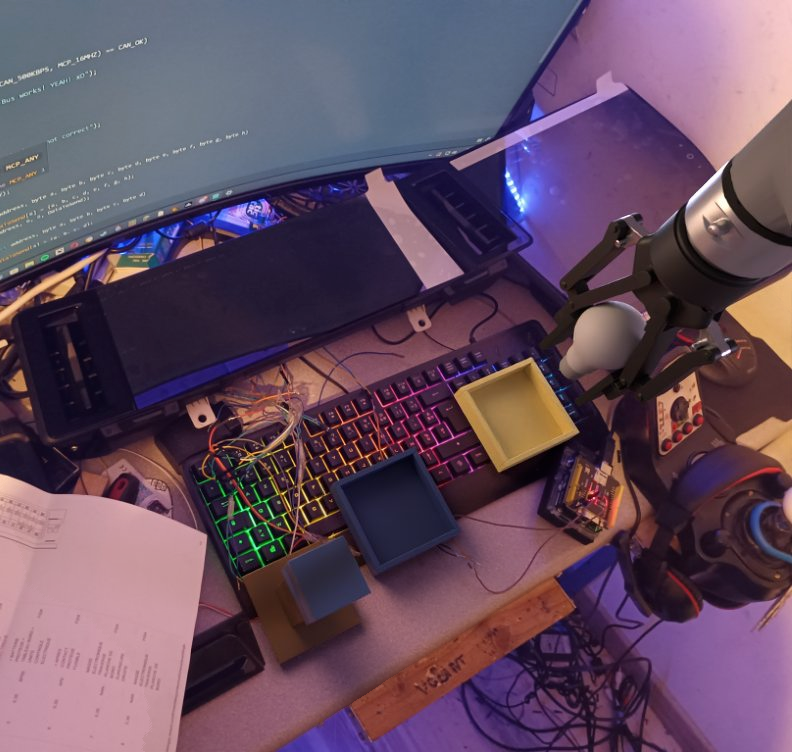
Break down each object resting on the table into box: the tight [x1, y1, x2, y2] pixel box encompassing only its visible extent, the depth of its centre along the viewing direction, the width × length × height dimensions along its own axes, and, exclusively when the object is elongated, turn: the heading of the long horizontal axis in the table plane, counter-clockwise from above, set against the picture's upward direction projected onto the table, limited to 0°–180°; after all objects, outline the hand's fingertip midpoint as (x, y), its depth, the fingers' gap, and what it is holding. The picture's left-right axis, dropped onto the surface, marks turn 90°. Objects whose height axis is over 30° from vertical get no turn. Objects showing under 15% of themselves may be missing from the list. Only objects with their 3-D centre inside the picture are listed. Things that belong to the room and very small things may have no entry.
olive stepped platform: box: [241, 539, 361, 665], centre depth 67 cm, size 9×9×12 cm
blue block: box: [282, 535, 372, 625], centre depth 59 cm, size 5×5×5 cm
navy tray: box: [329, 446, 462, 578], centre depth 76 cm, size 10×10×3 cm
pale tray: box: [453, 357, 580, 474], centre depth 83 cm, size 10×10×3 cm
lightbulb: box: [559, 300, 647, 381], centre depth 66 cm, size 6×6×11 cm
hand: (569, 370), depth 71 cm, fingers closed on lightbulb, 6 cm apart
